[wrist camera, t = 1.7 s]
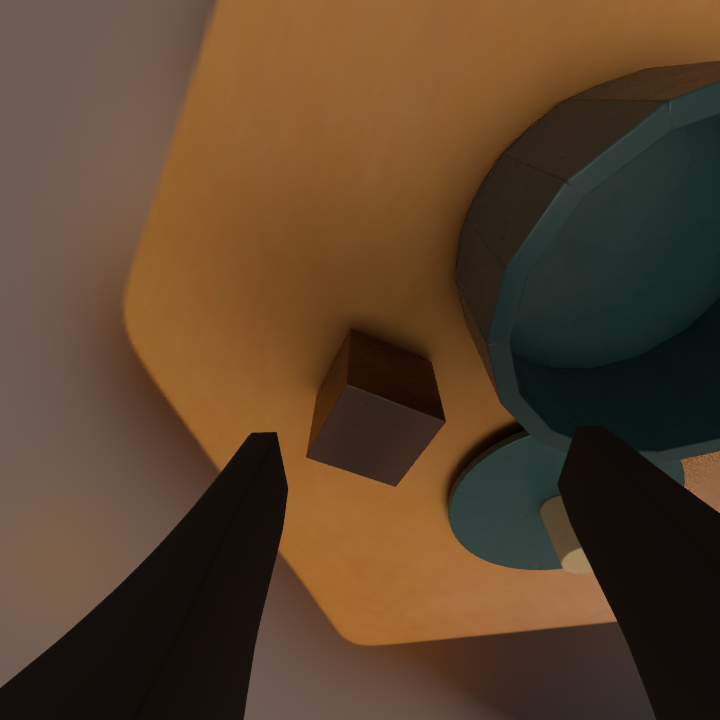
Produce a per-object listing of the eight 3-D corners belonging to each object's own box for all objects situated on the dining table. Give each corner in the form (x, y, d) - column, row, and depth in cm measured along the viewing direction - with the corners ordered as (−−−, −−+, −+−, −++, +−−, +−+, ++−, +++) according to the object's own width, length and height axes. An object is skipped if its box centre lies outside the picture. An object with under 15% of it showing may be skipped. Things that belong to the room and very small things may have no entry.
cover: (725, 457, 23) (793, 525, 20) (567, 572, 30) (595, 639, 26) (535, 375, 20) (572, 437, 17) (408, 523, 27) (414, 591, 23)
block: (432, 361, 20) (446, 421, 16) (391, 422, 22) (396, 487, 18) (350, 328, 19) (346, 384, 15) (316, 395, 21) (305, 457, 18)
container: (855, 174, 15) (1092, 211, 10) (612, 406, 21) (686, 500, 16) (595, -11, 12) (746, -83, 7) (404, 316, 19) (417, 396, 14)
